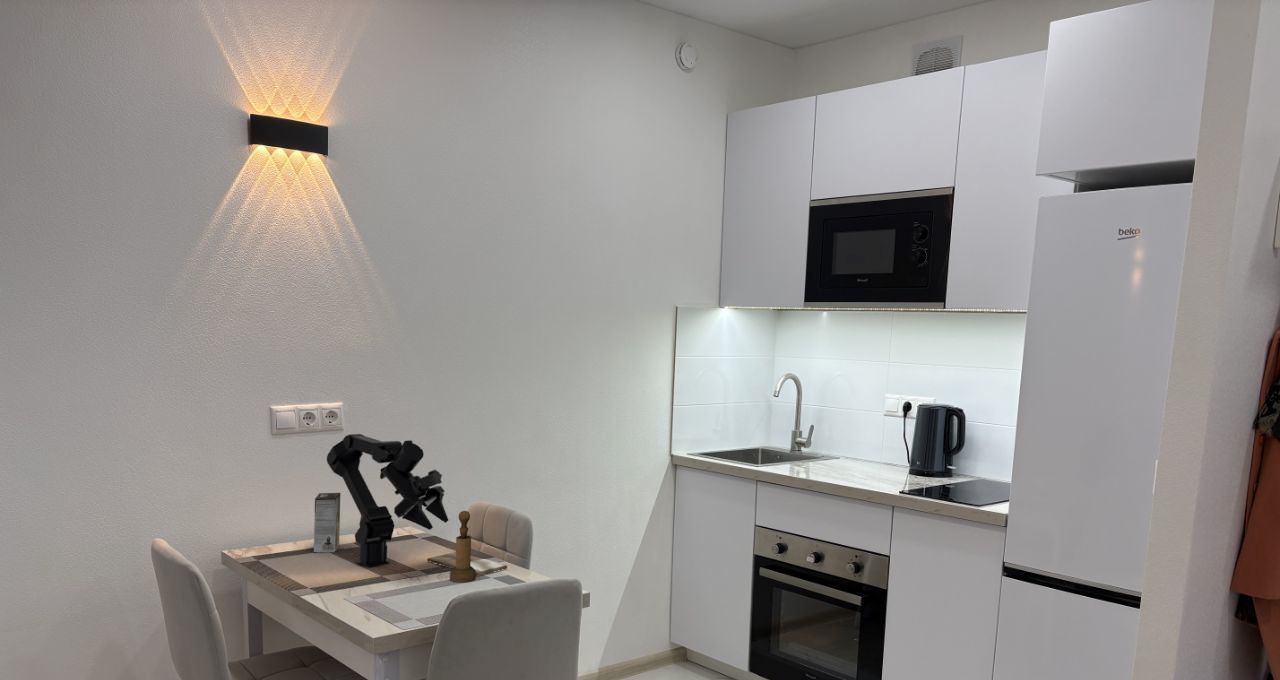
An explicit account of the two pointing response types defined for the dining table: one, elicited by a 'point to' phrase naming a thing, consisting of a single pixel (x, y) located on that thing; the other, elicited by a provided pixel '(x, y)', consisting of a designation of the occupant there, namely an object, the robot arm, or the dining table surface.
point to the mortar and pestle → (463, 553)
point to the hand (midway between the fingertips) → (439, 525)
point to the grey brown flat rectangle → (477, 563)
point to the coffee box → (327, 522)
